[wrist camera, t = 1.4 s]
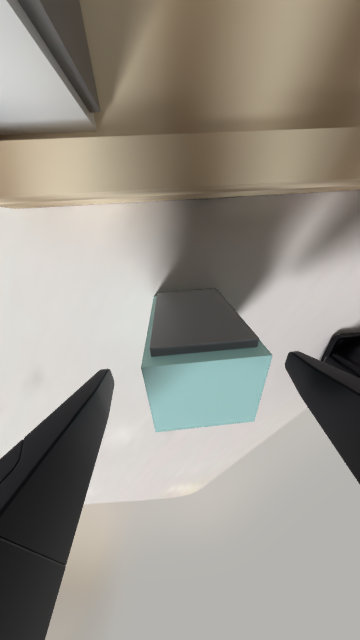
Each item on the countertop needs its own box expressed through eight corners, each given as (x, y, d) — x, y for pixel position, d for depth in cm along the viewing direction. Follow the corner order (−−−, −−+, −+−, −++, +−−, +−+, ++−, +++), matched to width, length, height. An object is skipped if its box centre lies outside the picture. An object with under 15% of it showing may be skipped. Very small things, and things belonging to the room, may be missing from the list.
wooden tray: (508, -161, 5) (843, -543, 3) (370, 189, 10) (447, 173, 7) (-162, -188, 5) (-618, -771, 2) (14, 208, 9) (-50, 199, 6)
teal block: (215, 336, 14) (254, 421, 8) (160, 341, 14) (155, 432, 8) (218, 285, 12) (275, 346, 6) (153, 290, 12) (139, 358, 5)
